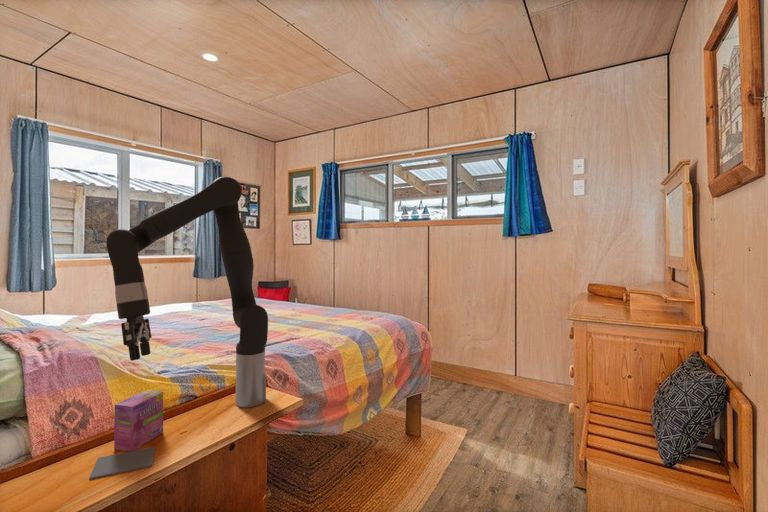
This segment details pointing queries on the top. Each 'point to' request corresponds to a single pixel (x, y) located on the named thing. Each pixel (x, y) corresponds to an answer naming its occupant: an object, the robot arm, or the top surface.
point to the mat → (123, 462)
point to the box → (138, 420)
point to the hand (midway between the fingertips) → (141, 357)
